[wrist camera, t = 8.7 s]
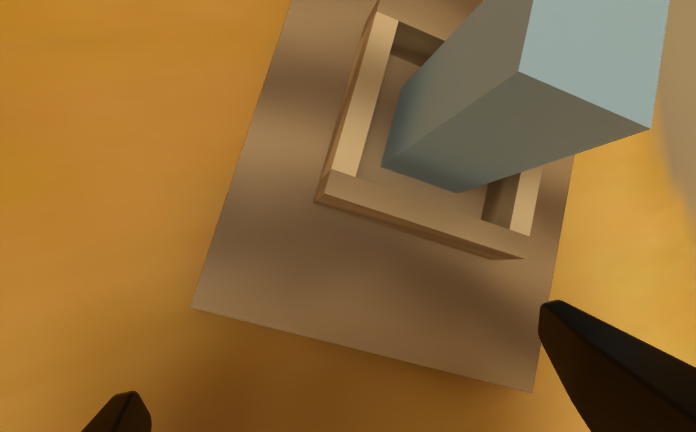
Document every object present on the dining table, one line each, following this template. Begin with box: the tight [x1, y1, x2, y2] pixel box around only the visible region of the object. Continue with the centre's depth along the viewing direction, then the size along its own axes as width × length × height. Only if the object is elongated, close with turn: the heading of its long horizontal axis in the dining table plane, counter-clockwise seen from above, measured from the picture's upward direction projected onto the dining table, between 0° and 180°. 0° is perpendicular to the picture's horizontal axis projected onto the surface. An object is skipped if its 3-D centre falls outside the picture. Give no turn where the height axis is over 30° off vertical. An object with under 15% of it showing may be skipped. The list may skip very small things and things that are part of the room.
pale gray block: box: [380, 0, 670, 194], centre depth 16 cm, size 4×4×10 cm
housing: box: [190, 0, 575, 393], centre depth 20 cm, size 20×16×4 cm
